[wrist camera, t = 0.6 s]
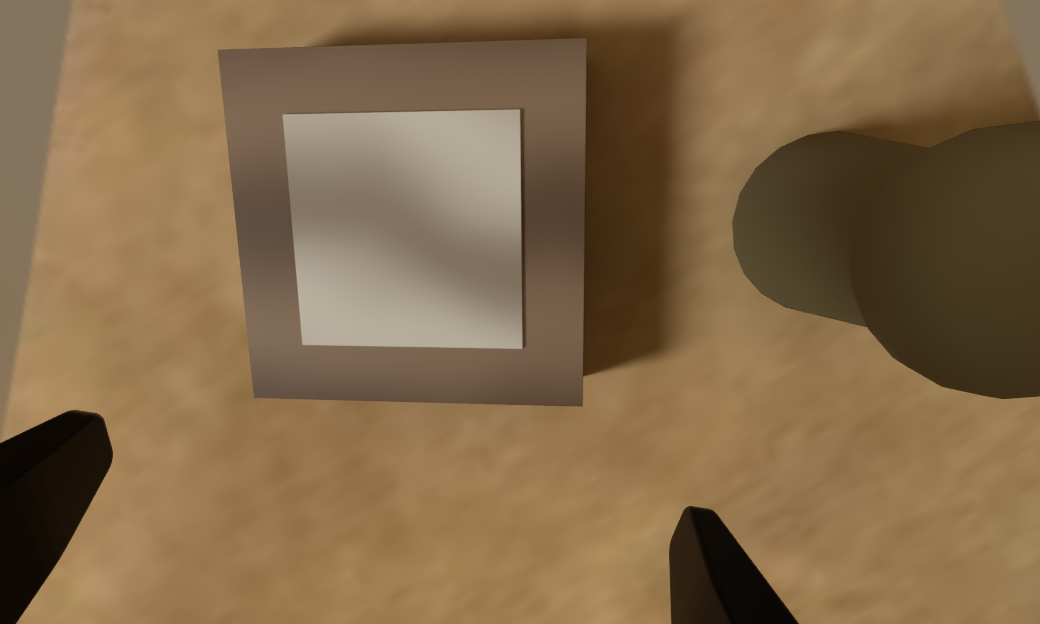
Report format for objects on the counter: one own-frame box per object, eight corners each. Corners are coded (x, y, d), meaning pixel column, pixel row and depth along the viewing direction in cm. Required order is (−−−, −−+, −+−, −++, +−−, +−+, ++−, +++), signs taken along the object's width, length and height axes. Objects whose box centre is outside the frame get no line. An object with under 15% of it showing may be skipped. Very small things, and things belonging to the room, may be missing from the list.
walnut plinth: (582, 377, 23) (582, 407, 20) (294, 370, 24) (252, 398, 21) (586, 57, 21) (586, 37, 18) (266, 66, 22) (215, 49, 19)
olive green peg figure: (904, 318, 22) (1219, 460, 11) (723, 308, 22) (851, 434, 11) (936, 134, 20) (1330, 90, 10) (742, 128, 21) (909, 79, 10)
